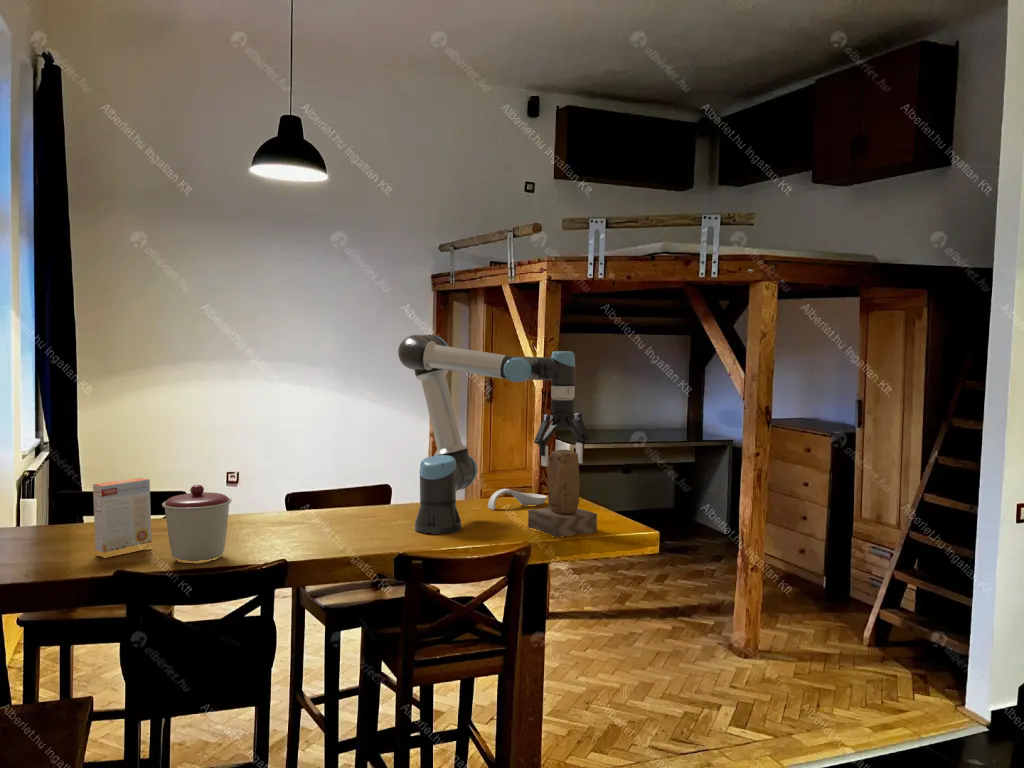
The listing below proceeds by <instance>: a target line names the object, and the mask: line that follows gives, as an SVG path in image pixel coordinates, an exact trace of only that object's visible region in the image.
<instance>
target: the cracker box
mask: <svg viewBox="0 0 1024 768" xmlns="http://www.w3.org/2000/svg"><path fill="white" fill-rule="evenodd" d="M150 481H151V480H150V479H148V478H143V477H136V478H129V479H121V480H112V481H107V482H100V483H94V484H92V494H93V495H92V496H93V518H94V520H93V521H94V543H95V544H94V545H95V547H94V548H95V551H96V550H98V551H100V552H103V553H105V552H109V551H113V550H119V549H123V548H126V547H129V546H134V545H139V544H145V543H151V542H152V518H151V517H152V515H151V512H152V511H151V510H152V509H151V487H150V486H151V484H150Z"/></svg>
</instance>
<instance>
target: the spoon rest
mask: <svg viewBox="0 0 1024 768" xmlns="http://www.w3.org/2000/svg"><path fill="white" fill-rule="evenodd" d="M506 493H507V494H510V495H512V496H513V497H514V498H515V500H517V501H518V503H520V504H521V505H522V504H523V505H539V506H540V504H541V505H543V504H544V503H545V502H546V501H547V499H548V496H547V495H545V494H539V493H533V492H532V493H530V492H529V493H528V492H520V491H516V490H512V489H509V488H501V489H498V490H496V491H495V492H493V494H492V495H491V496H490V498H489V499H488V502H487V503H488V504H487V509H489V510H492V511H495V510H496V504H497V500H498V498H499V497H500V496H502V495H503V494H506ZM523 505H522V506H523Z"/></svg>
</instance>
